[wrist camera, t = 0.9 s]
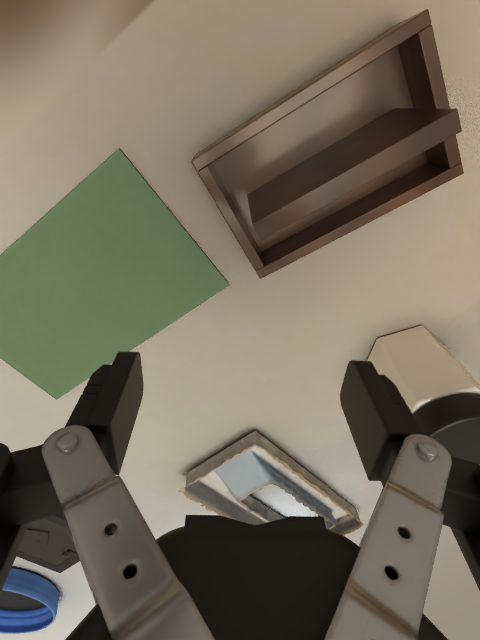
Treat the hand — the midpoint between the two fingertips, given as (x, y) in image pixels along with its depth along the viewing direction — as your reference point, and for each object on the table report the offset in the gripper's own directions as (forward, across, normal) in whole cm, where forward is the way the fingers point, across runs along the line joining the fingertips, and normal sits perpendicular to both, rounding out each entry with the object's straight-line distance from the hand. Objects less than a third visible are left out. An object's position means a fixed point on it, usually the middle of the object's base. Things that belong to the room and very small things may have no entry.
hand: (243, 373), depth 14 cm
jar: (+19, -19, +13) cm, 30 cm away
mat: (+19, +14, +8) cm, 25 cm away
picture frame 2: (+19, -8, +37) cm, 42 cm away
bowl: (+19, +36, +66) cm, 78 cm away
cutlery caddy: (+19, -6, -6) cm, 21 cm away
